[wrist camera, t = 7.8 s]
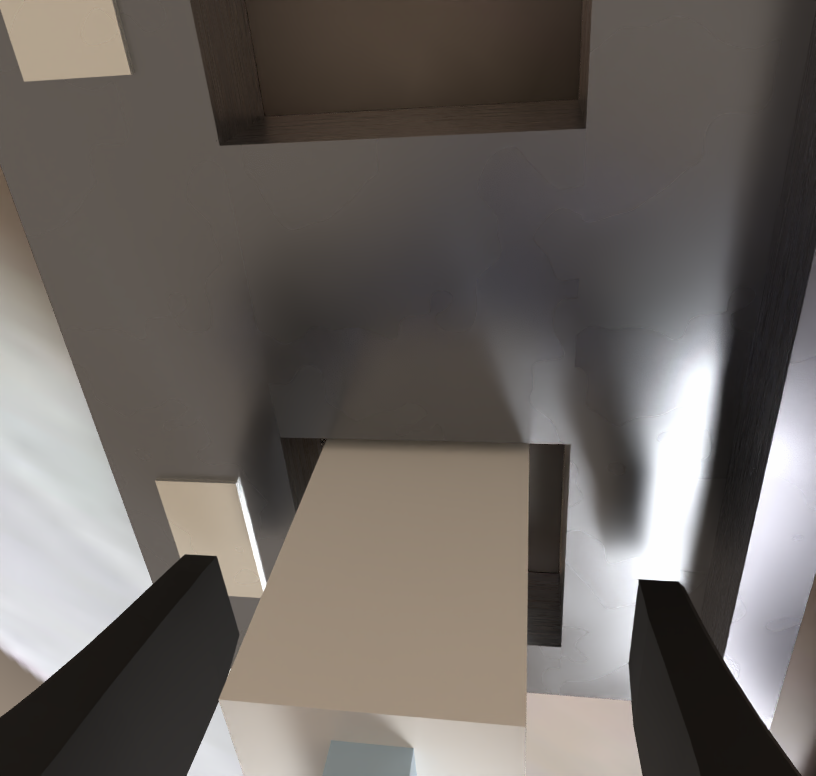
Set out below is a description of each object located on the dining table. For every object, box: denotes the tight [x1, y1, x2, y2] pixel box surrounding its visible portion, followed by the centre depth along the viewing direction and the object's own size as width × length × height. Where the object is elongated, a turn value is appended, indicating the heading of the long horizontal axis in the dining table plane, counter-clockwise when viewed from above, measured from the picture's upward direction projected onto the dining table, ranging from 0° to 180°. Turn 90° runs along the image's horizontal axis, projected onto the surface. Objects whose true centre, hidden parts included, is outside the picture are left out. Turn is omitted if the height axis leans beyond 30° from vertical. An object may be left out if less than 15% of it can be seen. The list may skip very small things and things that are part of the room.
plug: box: [218, 439, 529, 776], centre depth 12 cm, size 4×4×8 cm
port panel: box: [0, 0, 816, 730], centre depth 11 cm, size 12×18×4 cm, turn 5°
